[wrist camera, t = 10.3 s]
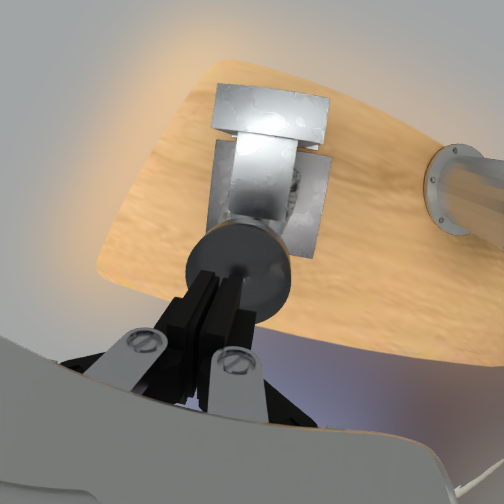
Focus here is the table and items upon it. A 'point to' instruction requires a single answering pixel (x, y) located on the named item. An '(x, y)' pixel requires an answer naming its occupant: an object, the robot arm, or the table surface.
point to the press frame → (270, 159)
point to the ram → (247, 261)
